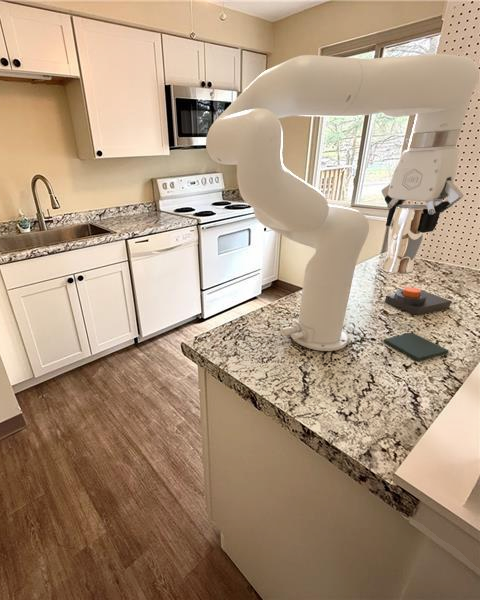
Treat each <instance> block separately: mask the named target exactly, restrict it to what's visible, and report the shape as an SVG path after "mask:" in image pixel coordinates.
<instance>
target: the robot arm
mask: <svg viewBox="0 0 480 600" xmlns="http://www.w3.org/2000/svg"><path fill="white" fill-rule="evenodd" d="M479 79H480V70H479V66H478V64H477V63H476V62H475V61H474V59H472V58H470V57H469V56H465V55H458V54H447V53H427V54H416V55H415V54H414V55H406V56H405V55H403V56H385V57H374V58H357V57H344V56H343V57H342V56H332V55H331V56H329V55H318V54H304V55H303V54H302V55H298V56H295V57H292V58H290V59H288V60H286V61H283V62H281V63H279V64H276V65H274V66H273V67H270V68H268V69H266V70H265V71H263V72H261V74H259V75H258V76H257V77H256V78H255V79H254V80H253V81H251V83H250V84H249V85H248V86H247V87H245V89H244V90H243V91H242V92H241V93H240V94H239V95H238V96H237V97H236V98H235V99H234V100H233V102H232V103H231V104H229V106H228V107H227V108H226V109H225V110H224V111H223V112H222V113H221V114H220V115H219V116H218V117H217V118H216V119H215V120H214V121H213V123H212V124H211V126H210V127H209V129H208V132H207V134H206V138H205V147H206V151H207V154H208V156H209V157H210V159H211V160H212V161H214V162H215V163H217V164H220V165H226V166H228V165H229V166H230V165H233V166H235V165H236V181H237V187H238V191H239V194H240V197H241V198H242V199H243V201H244V202H245V203H246V204H247V205H248V206H250V207H251V208H253V213H254V216H255V218H256V219H257V221H258V222H259V223H260V224H262V225H263V226H264V227H266V228H268V229H269V230H272V231H274V232H276V233H277V234H279V235H280V236H283V237H284V238H287V239H289V240H291V241H293V242H295V243H298V244H300V245H304V246H307V247H310V248H312V249H314V250H315V252H314V254H313V255H312V257H311V258H310V259H309V260H308V262H307V263H306V265H305V269H304V275H303V283H302V291H301V298H300V305H299V313H298V319H295V320H294V322H293V324H292V325H291V326H286V327H282V328H280V330H279V333H280V335H281V336H282V337H287V336H290V338H291V339H292V340H293V341H294V342H295V343H297V344H298V345H300V346H302V347H304V348H307V349H310V350H314V351H319V352H334V351H335V352H336V351H338V350H341V349H345V347H346V346H347V345H348V341H349V336H348V334H347V333H346V332H345V331H344V329H343V328H344V322H345V319H346V318H345V317H346V313H347V309H348V303H349V299H350V293H351V289H352V285H353V279H354V274H355V269H356V266H357V262H358V259H359V257H360V255H361V252H362V249H363V247H364V245H365V243H366V240H367V238H368V235H369V233H370V223H369V221H368V218H367V217H366V215H365V214H363V213H362V212H361V211H359V210H357V209H354V208H350V207H345V206H340V205H339V206H338V205H332V204H329V202H328V200H327V198H326V196H325V195H324V194H323V192H321V191H320V190H319V189H317V188H316V187H315V186H312V185H311V184H309V183H307V182H306V181H304V180H303V179H301V178H299V176H297V175H295V174H294V173H293V172H291V171H290V170H289V169H287V167H285V165H284V163H283V153H282V152H283V137H284V136H283V127H282V124H281V121H280V120H279V119H283V118H288V117H333V118H334V117H338V118H350V117H351V118H352V117H363V116H369V115H370V116H371V115H375V114H379V113H380V114H382V115H383V116H386V117H388V118H402V117H410V116H415V118H414V124H413V127H412V130H411V135H410V137H406V139H405V141H404V142H405V144H406V145H408V147H407V150H403V151H402V153H401V155H400V157H399V159H398V161H397V162H396V166H395V169H394V171H393V174H392V177H391V181H390V183H389V184H387V186H385V187H384V188H382V189H381V194H382V197H383V198H384V201H385V203H386V205H387V206H386V207H387V209H389V210H388V213H387V218H386V222H385V227H390V223H391V220H392V217H393V214H394V211H395V208H396V206H397V205H401V204H405V202H406V201H413V202H414V201H415V202H425V205H427V209H428V214H425V215H424V217H423V221H422V224H421V228H420V232H421V233H425V232H427V233H430V232H434V230H435V229H436V227H437V225H438V221H439V218H440V214H442V213H444V212H445V211H446V210H448V209H449V208H451V207H452V206H454V204H456V203H457V202H459V201H461V200H462V199H463V198H464V193H463V192H462V191H461V190H460V189H459V187H457V186H456V185H455V184H454V182H455V179H456V174H457V168H458V163H459V154H460V147H457V144H458V142H459V139H460V135H461V131H462V130H463V129H462V128H463V125H464V123H465V118H466V116H467V113H468V109H469V107H470V103H471V100H472V96H473V93H474V91H475V89H476V87H477V85H478V82H479ZM444 199H445V200H444Z"/></svg>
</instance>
